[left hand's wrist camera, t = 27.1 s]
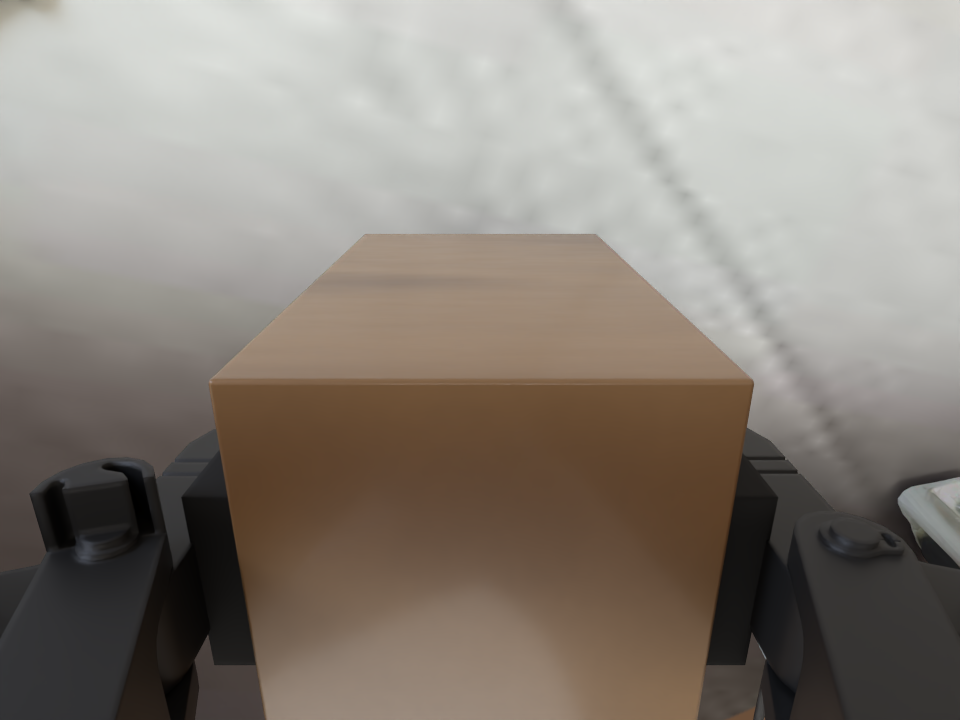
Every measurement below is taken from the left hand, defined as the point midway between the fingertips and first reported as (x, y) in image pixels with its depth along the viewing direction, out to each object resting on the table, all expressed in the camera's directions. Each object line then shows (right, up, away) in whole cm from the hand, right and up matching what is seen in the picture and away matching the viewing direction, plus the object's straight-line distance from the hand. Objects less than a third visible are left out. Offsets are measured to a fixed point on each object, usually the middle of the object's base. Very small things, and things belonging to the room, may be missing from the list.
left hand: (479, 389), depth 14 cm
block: (0, +1, +2) cm, 3 cm away
